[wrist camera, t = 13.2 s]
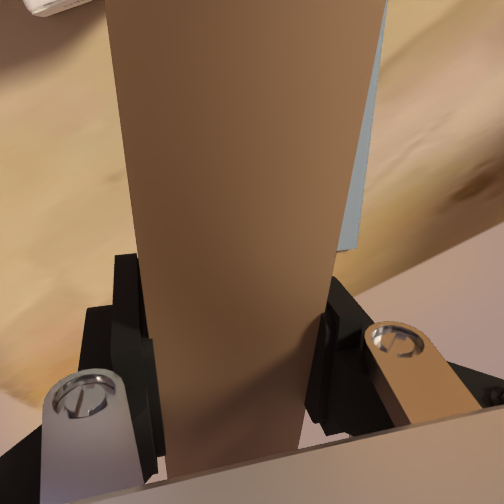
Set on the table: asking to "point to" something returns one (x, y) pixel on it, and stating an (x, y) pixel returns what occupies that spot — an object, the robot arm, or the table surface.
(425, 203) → the table surface
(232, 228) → the wooden beam
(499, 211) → the table surface
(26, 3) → the syrup box
